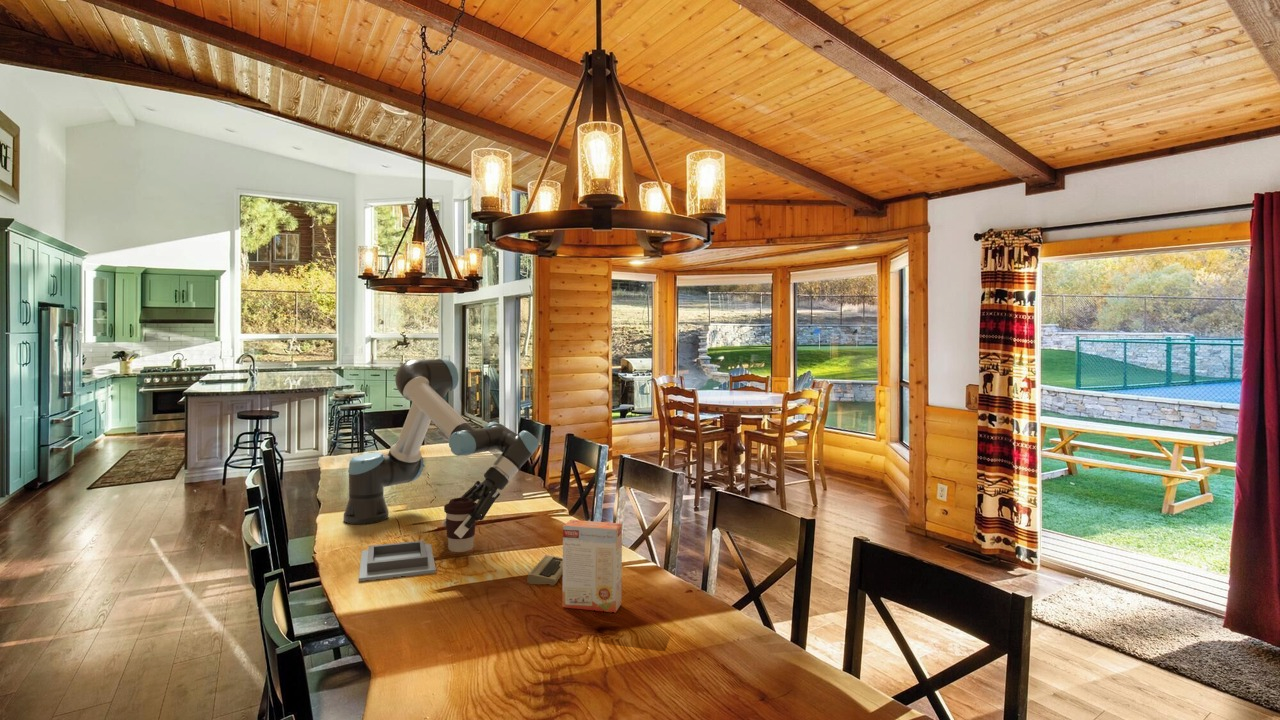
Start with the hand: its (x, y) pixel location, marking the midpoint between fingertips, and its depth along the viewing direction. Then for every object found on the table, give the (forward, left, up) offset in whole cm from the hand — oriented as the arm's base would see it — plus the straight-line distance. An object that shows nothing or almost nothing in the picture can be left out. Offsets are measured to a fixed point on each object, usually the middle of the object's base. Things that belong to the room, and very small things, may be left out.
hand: (451, 531), depth 191 cm
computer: (+22, +25, -9) cm, 35 cm away
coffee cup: (-1, +3, -6) cm, 7 cm away
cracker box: (+47, +30, -9) cm, 57 cm away
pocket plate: (-1, -15, -8) cm, 17 cm away
